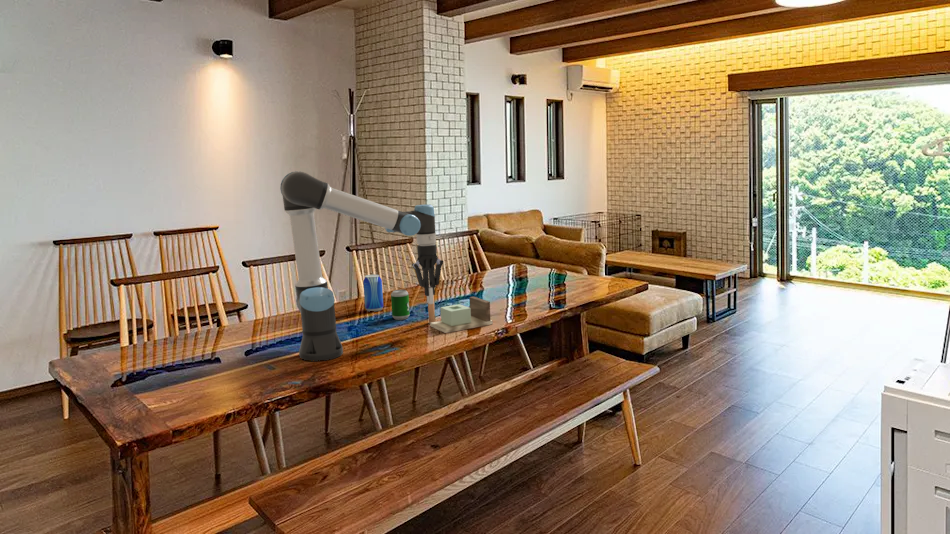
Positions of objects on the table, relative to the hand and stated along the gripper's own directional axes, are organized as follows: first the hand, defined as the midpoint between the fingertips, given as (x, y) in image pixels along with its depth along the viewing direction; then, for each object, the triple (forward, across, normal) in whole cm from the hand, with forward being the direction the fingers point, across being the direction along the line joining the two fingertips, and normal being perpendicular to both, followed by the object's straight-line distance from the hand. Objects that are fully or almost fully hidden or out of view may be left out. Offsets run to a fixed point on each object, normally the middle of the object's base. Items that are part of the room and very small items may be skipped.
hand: (430, 303), depth 252 cm
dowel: (+11, +6, +11) cm, 17 cm away
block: (+10, +11, 0) cm, 15 cm away
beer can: (+11, -5, +50) cm, 51 cm away
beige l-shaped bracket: (+11, +14, 0) cm, 18 cm away
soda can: (+11, -2, +27) cm, 29 cm away
